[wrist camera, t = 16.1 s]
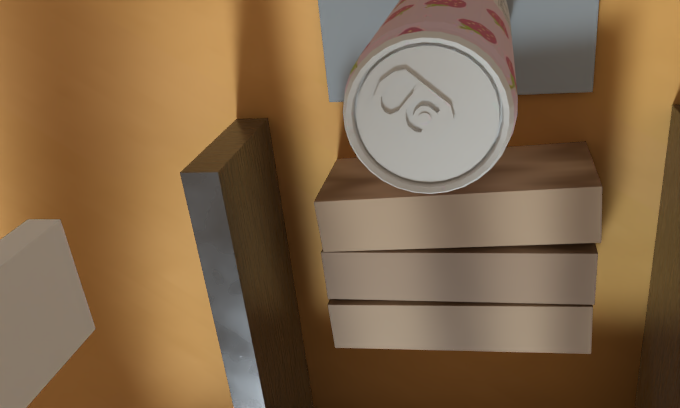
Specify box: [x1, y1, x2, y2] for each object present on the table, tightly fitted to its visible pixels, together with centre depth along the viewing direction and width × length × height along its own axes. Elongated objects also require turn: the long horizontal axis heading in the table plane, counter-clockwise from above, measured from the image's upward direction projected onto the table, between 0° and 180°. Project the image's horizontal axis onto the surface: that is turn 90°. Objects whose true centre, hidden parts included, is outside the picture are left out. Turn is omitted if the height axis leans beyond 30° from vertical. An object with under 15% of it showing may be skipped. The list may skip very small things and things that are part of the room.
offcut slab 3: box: [328, 299, 593, 354], centre depth 38 cm, size 14×3×6 cm, turn 99°
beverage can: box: [343, 0, 518, 194], centre depth 26 cm, size 6×6×15 cm
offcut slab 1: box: [314, 141, 602, 252], centre depth 35 cm, size 14×3×6 cm, turn 100°
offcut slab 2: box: [321, 243, 598, 305], centre depth 36 cm, size 14×3×6 cm, turn 97°
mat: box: [318, 0, 599, 102], centre depth 33 cm, size 14×8×1 cm, turn 97°
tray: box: [180, 105, 680, 408], centre depth 37 cm, size 26×26×10 cm
